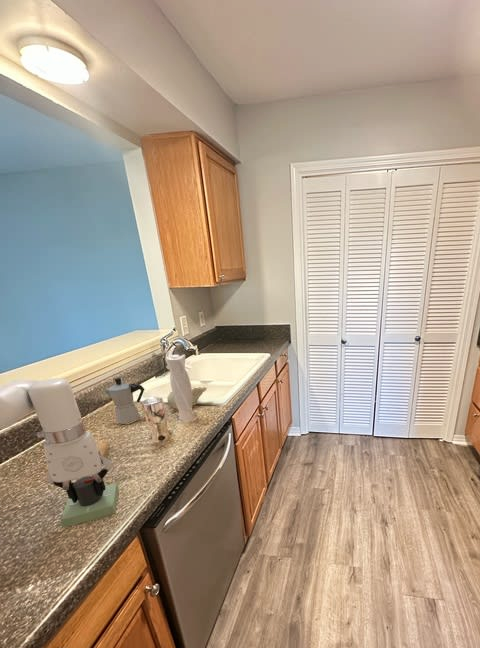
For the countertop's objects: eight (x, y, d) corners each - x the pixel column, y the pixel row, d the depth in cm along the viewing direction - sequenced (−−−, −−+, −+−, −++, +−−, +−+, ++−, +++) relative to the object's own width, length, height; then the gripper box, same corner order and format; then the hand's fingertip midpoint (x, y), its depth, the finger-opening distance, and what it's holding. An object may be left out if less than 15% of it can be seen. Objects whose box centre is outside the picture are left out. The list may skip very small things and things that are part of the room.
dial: (77, 508, 79) (70, 489, 77) (81, 497, 83) (74, 478, 81) (99, 502, 80) (93, 483, 78) (102, 491, 85) (96, 473, 82)
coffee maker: (108, 427, 126) (95, 383, 120) (115, 417, 134) (103, 376, 128) (149, 421, 129) (138, 379, 123) (153, 413, 137) (143, 372, 130)
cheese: (163, 416, 138) (178, 400, 129) (159, 401, 140) (174, 384, 131) (195, 415, 150) (211, 399, 141) (191, 401, 152) (206, 385, 143)
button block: (61, 471, 99) (57, 460, 98) (68, 455, 108) (64, 445, 106) (105, 461, 103) (102, 450, 102) (109, 446, 112) (106, 436, 110)
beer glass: (169, 443, 112) (160, 403, 107) (148, 445, 111) (138, 405, 106) (173, 433, 119) (165, 395, 113) (153, 435, 118) (144, 398, 112)
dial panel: (63, 528, 76) (59, 519, 75) (72, 502, 85) (69, 494, 84) (115, 513, 80) (112, 505, 79) (119, 490, 89) (116, 482, 88)
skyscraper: (174, 419, 130) (159, 351, 119) (192, 413, 135) (179, 347, 124) (182, 425, 125) (168, 354, 114) (200, 419, 129) (188, 350, 118)
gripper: (14, 448, 68) (44, 516, 75) (105, 430, 74) (125, 495, 81) (26, 433, 75) (53, 497, 82) (109, 418, 80) (127, 478, 87)
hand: (89, 495), depth 81 cm, fingers closed on dial, 4 cm apart
